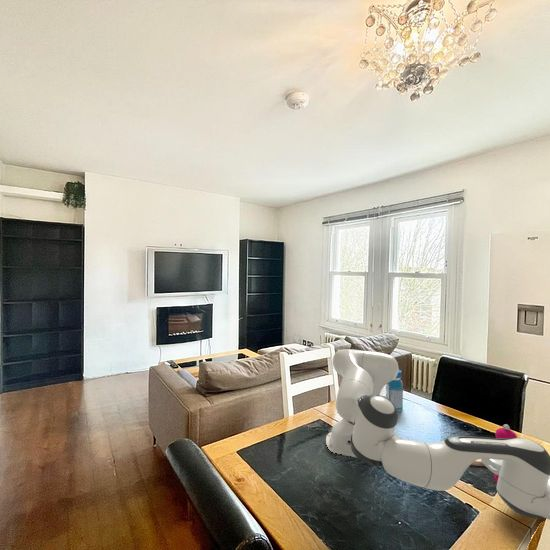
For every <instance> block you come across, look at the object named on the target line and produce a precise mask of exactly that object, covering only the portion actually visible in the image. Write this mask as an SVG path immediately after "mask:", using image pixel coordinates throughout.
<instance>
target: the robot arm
mask: <svg viewBox="0 0 550 550" xmlns="http://www.w3.org/2000/svg"><path fill="white" fill-rule="evenodd" d="M332 366H333V369H334V371H335V372H336V373H337V374H339V375H340V376H341V377H342V380H341V383H340V385H339V388H338V391H337V393H336V394H337V395H336V400H335V401H336V402H335V407H336V408H335V409H336V411H337V414H338V415H339V417H341V419H340V420H339V421H337V422H335V423H334V424H333V426H332V428H331V432H329V433H328V434H326V437H325V446H326V445H327V446H326V448H327V447H328V449H329V450H330V451H331V452H333V453H332V454H335V453H337V455H340V454H342V455H341V456H347V457H350V456H351V457H352V458H356V459H358V460H360V461H361V462H362V463H365V464H367V465H370V466H374V467H383V468H384V470H385V471H386V473H388V474H389V475H390V476H392V477H394V478H396V479H398V480H400V481H403V482H405V483H407V484H411V485H412V486H413V485H414V486H417V487H421V488H424V489H428V490H432V491H440V492H442V491H447V490H450V489H451V488H454V487H455V486H456V485H457V484H458V482H459V481H460V479H461V478H462V476H463V475H464V473H465V472H466V471H467V469H468V468H469V467H470V466H472V465H471V464H472V463H473V462H474V461H476V460H478V459H481V461H482V463H483V464H484V465H485V466H484V467H486V468H487V469H488V470H489V471H490V472H492V473H493V474H494V475H495V474H496V475H499V477H498V481H497V483H496V488H495V489H496V491H497V494H498V495H499V497H500V498H501V500H502V501H503V502H504V503H505V504H506V505H507V506H508V508H510V509H511V510H513V512H515V513H516V514H519V515H520V516H523V517H526V518H531V519H547V520H550V454H549V452H548V451H547V450H546V449H545V447H544V446H543V445H542V444H539V443H538V442H536V441H533V440H530V439H528V438H524V437H517V438H505V439H502V438H496V437H484V436H471V435H470V436H469V435H449V436H447V437H446V438H445V439H444V440H441V441H436V442H423V441H420V440H416V439H415V440H414V439H408V438H402V437H400V436H399V435H397V434H396V433H394V432H395V428H396V426H397V423H398V418H399V412H398V410H397V408H396V406H395V405H394V404H393V403H392V402H391V401H390V400H389V399H387V398H386V396H384V395H381V392H382V390H383V389H384V388H385V387H386V385H387V383H389V382H390V381H392V380H394V379H395V378H396V376H397V374H398V370H400V369H399V368H400V367H399V363H398V361H397V359H396V358H395V357H394V355H391V354H387V353H385V352H378V351H372V350H361V349H351V348H347V349H346V348H345V349H344V348H343V349H338V350H336V352H335V353H334V355H333V357H332ZM328 449H327V450H328ZM329 450H328V451H329ZM330 451H329V452H330ZM331 452H330V453H331Z"/></svg>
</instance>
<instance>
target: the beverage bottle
mask: <svg viewBox="0 0 550 550" xmlns="http://www.w3.org/2000/svg"><path fill="white" fill-rule="evenodd" d="M401 378H402V370H400V369H399V370H398V374H397V376H396V378H395V379H394V380H392V381H390V382H389V383H387V384H386V385H385V392H386V393H385V397H386V398H387V399H389V400H390V401H391V402H392V403H393V404H394V405H395V406H396V408H397V410H398V411H399V412H402V411H403V408H404V407H403V405H404V404H403V402H404V401H403V397H404V396H403V395H404V388H403V386H404V383H403V380H402V379H401Z"/></svg>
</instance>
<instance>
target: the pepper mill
mask: <svg viewBox="0 0 550 550" xmlns="http://www.w3.org/2000/svg"><path fill="white" fill-rule="evenodd" d="M494 435H495V438H502V439H505V438H518V436H517V434H516V432H514V431H513V430H511V427H510V426H509V424H507V423H506V424H503V425H502V427H499V428H497V429H496V430H495V434H494ZM498 477H499V475H496V474H495V473H494V477H493V478H494V479H493V480H494V482H495V483H496V484H497V481H498Z"/></svg>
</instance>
